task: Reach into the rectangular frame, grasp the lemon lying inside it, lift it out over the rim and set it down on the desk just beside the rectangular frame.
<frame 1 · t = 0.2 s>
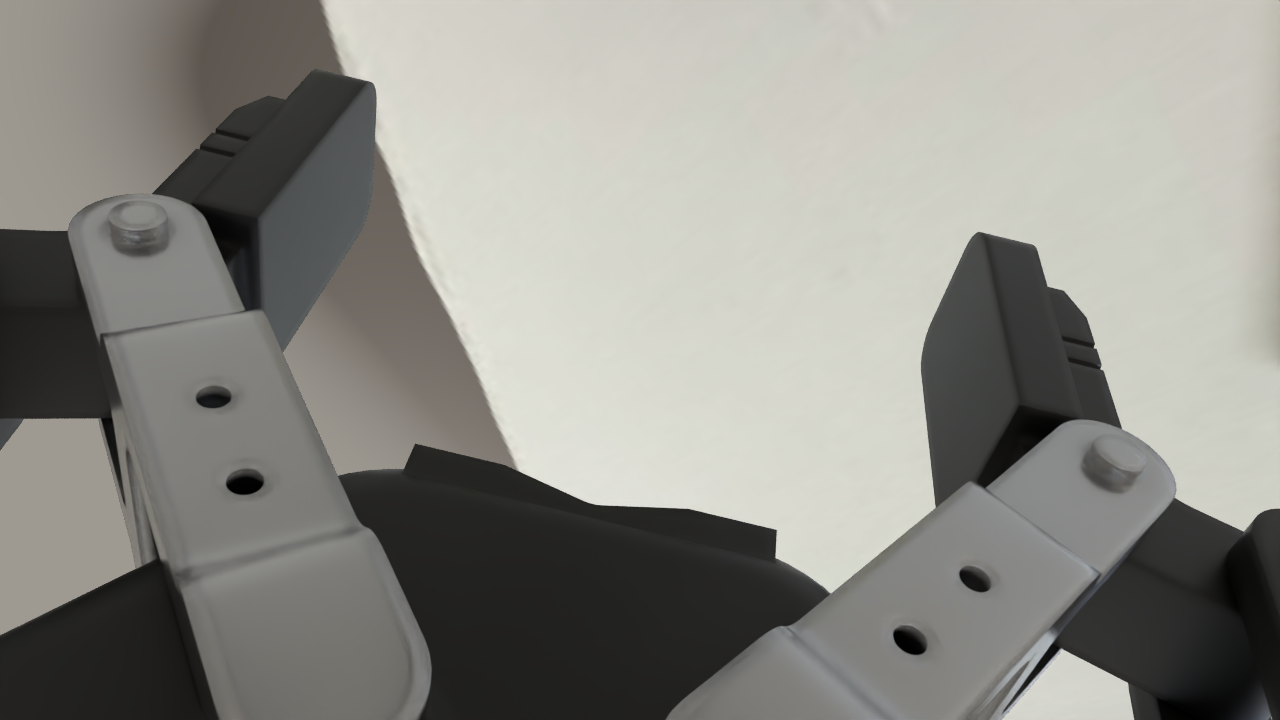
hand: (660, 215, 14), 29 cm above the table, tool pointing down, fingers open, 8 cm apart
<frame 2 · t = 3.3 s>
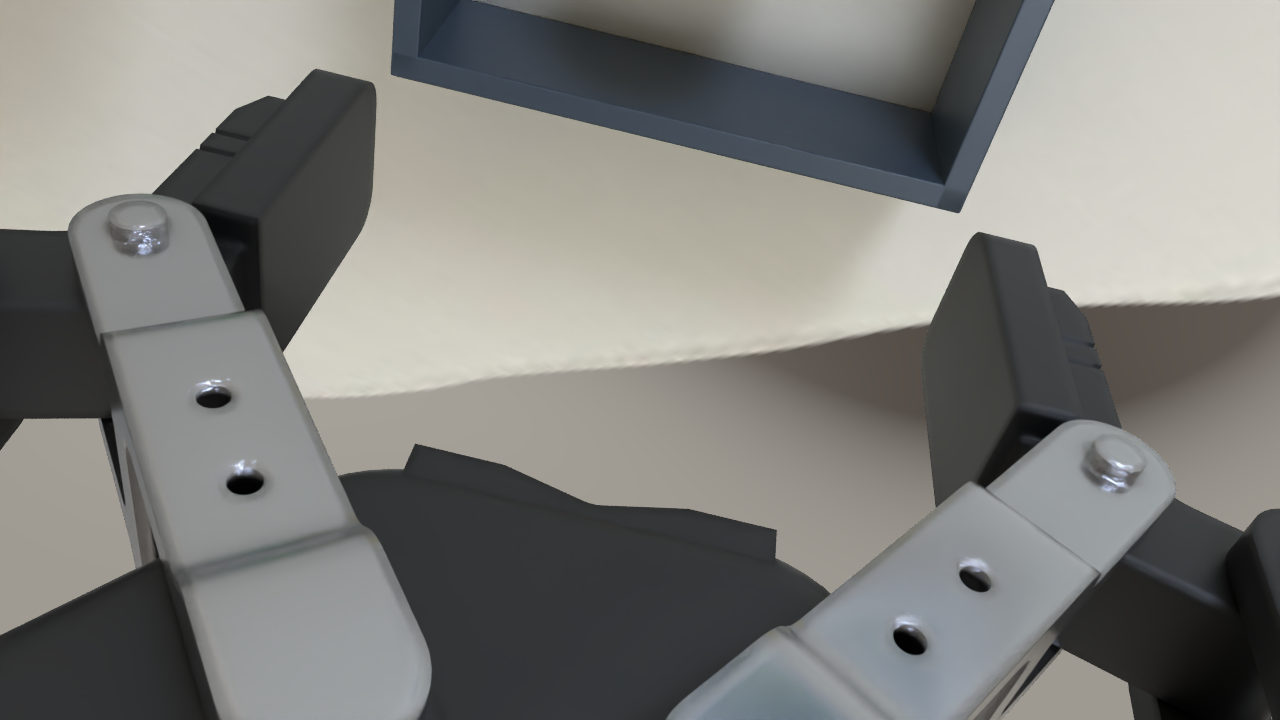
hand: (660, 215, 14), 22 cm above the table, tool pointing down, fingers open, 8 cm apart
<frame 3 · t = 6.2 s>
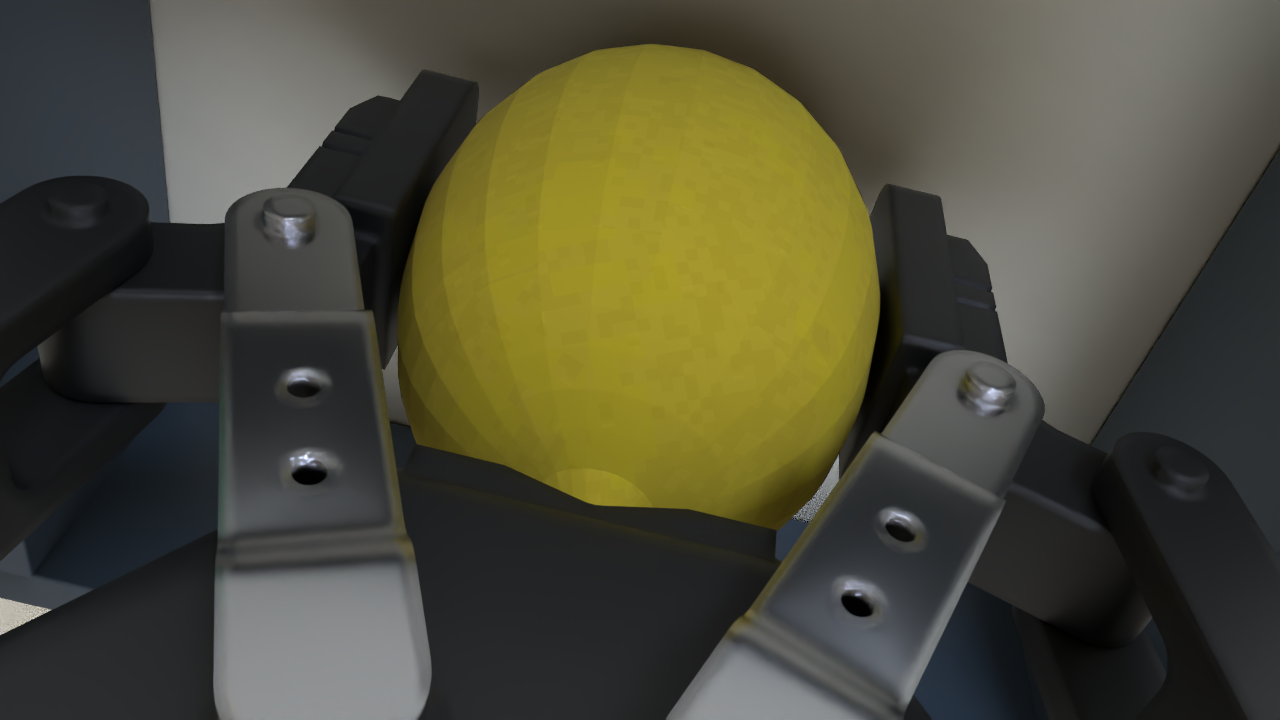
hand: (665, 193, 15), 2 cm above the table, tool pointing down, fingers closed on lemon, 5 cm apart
rectangular frame: (679, 144, 16), on the table
lemon: (680, 138, 16), resting in rectangular frame, touching gripper
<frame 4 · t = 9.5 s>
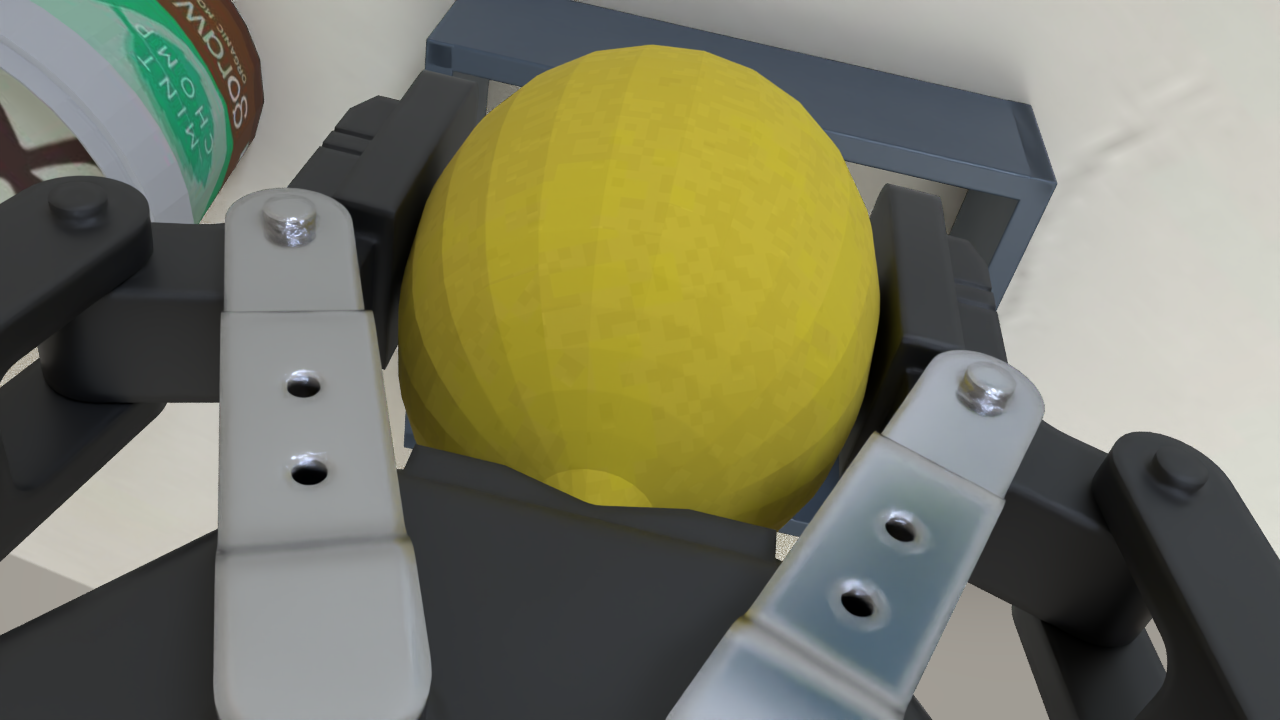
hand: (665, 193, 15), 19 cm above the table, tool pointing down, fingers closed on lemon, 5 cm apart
food container: (193, 25, 36), on the table
rectangular frame: (699, 250, 38), on the table
lemon: (680, 139, 16), point 18 cm above the table, touching gripper
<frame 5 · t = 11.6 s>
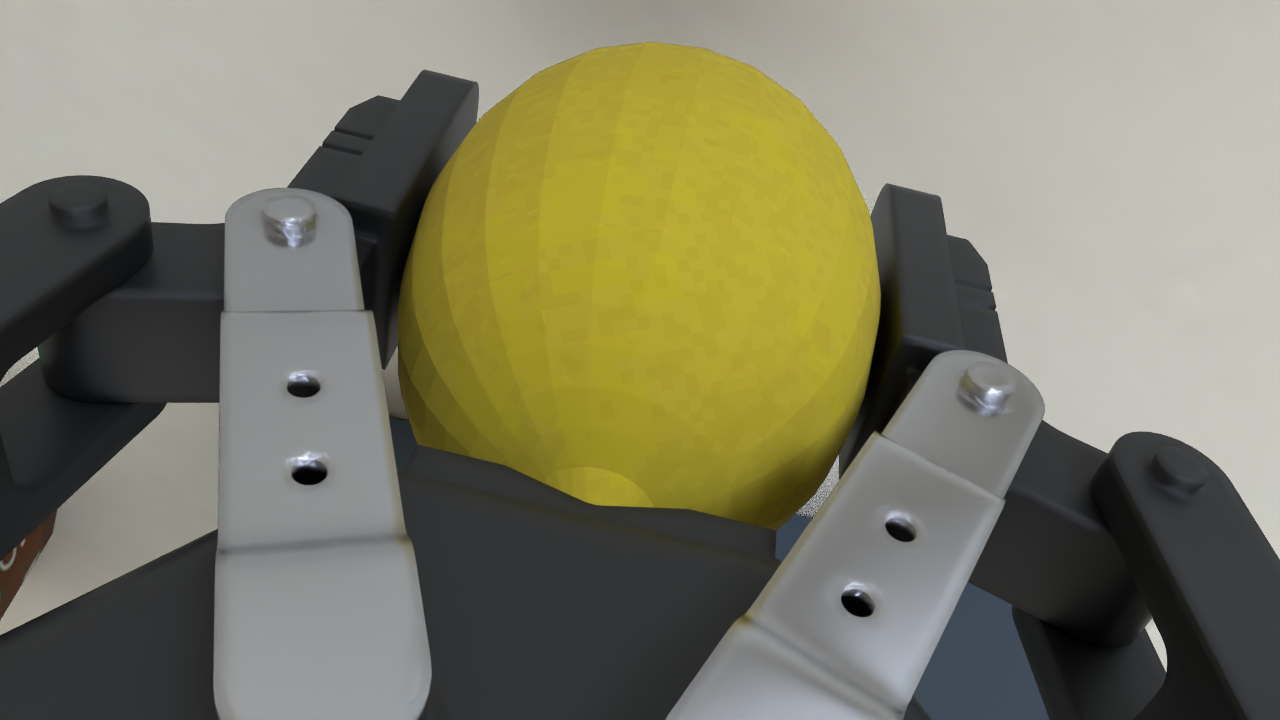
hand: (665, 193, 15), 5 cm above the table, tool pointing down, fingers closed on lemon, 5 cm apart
rectangular frame: (622, 678, 30), on the table
lemon: (681, 137, 16), point 3 cm above the table, touching gripper
when the fingers open (2 cm above the table, at t = 13.0 s): lemon stays where it is, on the table.
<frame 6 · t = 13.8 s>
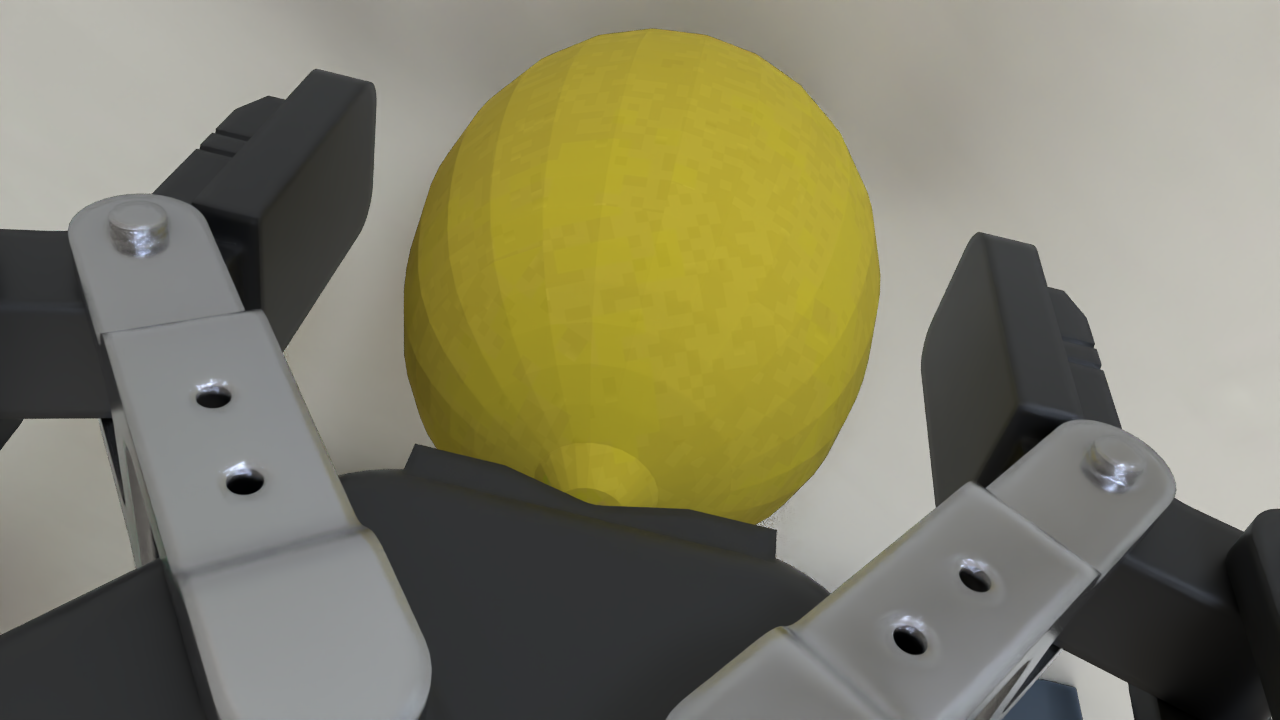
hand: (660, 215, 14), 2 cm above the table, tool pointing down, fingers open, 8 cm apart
lemon: (683, 125, 16), on the table
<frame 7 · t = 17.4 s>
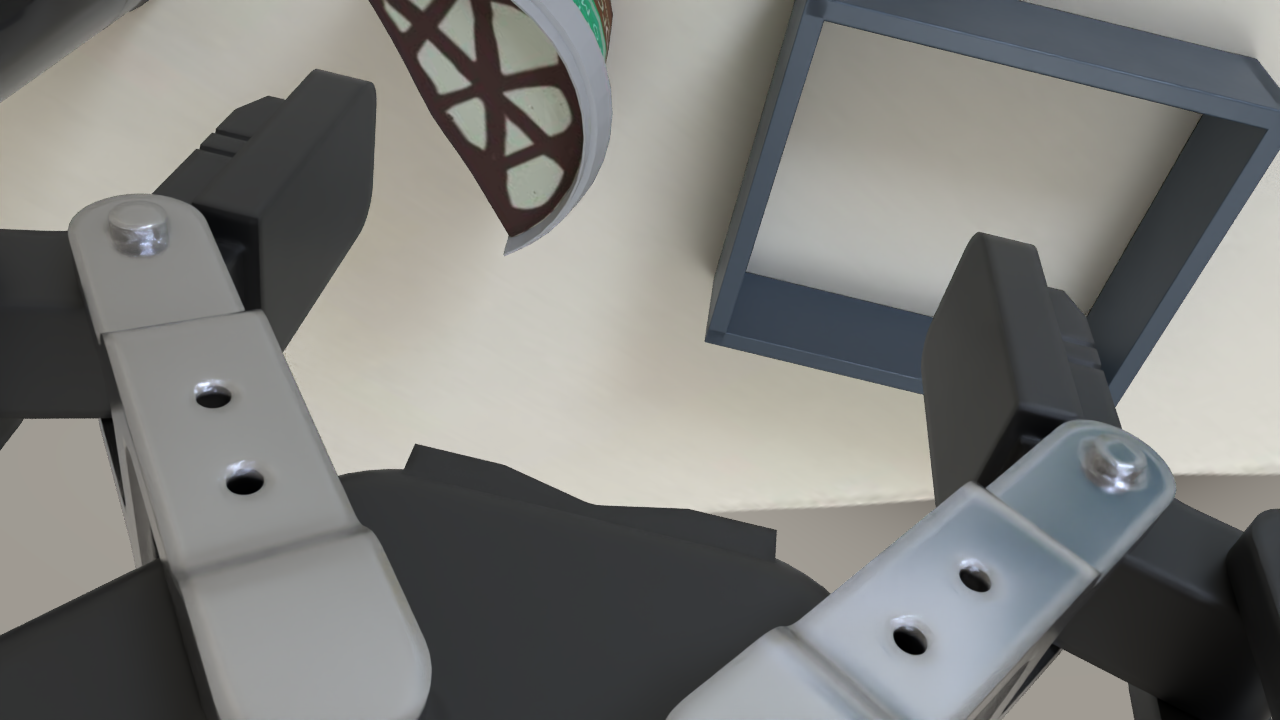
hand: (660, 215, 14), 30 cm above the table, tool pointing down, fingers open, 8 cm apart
rectangular frame: (957, 179, 46), on the table
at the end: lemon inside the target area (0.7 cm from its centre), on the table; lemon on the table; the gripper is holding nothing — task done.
